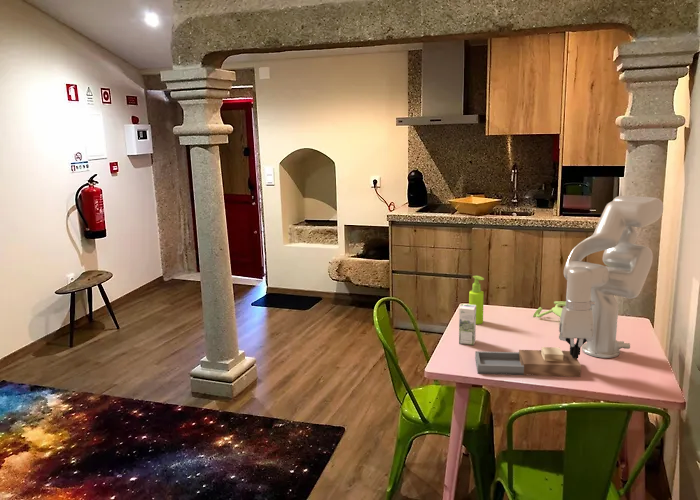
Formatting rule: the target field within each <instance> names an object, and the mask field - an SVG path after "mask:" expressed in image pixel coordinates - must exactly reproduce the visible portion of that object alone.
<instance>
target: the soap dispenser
mask: <svg viewBox="0 0 700 500" xmlns="http://www.w3.org/2000/svg"><path fill="white" fill-rule="evenodd" d="M472 278H473V279H474V282H473V283H472V285H471V286H472V288H471V290H469V292H468V304H469V305H476V326H477V325H482V324H484V296H485V295H484V291H482V290H481V289H482V288H481V287H482V286H481V285H482V284H481V283H480V281H484V280H485V278H484V277H483V276H480V275H473V276H472Z"/></svg>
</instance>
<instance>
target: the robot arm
mask: <svg viewBox="0 0 700 500" xmlns="http://www.w3.org/2000/svg"><path fill="white" fill-rule="evenodd" d="M663 212H664V203H663V201H662V200H661V199H660V198H658V197H652V196H640V195H618V196H615V198H613V200H612V201H610V202H608V203H606V205H605V207H604V209H603V211H602V213H601V215H600V218H599V220H598V222H597V225H596V227H595V229H594V232H593V234H592V235H591V236H589V237H587V238H585V239H583V240H582V241H580V242H579V243H577V245H576V246H574V247H573V248H572V250H571V251H570V253H569V255H568V257H567V260H566V261H565V265H564V268H563V276H564V278H565V280H566V294H565V302H566V306H562V308H563V309H562V313H561V318H560V317H559V327H558V328H559V329H558V331H559V335H558V339H559V340H560V341H563V342H566V343H568V345H569V351H570V355H572V357H573V358H575V357H576V358H577V359H579V356H580V355H581V350H582V352H583V353H585V354H586V355H588V356H591V357H595V358H600V359H601V358H603V359H611V358H616V357H618V356H620V353H621V349H624V350H625V349H627V350H629V349H630V348H631V344H630V343H627V342H626V343H625V341H623V340H622V341H621V340H620V341H618V340H617V331H618V330H617V329H618V318H619V303H618V301H617V299H616V297H621V298H626V299H636V298H637V297H638V296H639V295H640V293H641V291H642V289H643V287H644V285H645V282H646V280H647V277H648V274H649V273H650V270H651V267H652V264H653V259H654V255H653V251H652V249H651V248H650V247H649V246H648V245H643V244H637V243H636V242H637V240H638V238H639V233H638V231H637V229H636V228H645V227H647V226H650V225H652V224H654V223H656V222H657V221H659V219H660V218H661V217H662V216H663V215H662V214H663ZM601 251H603V253H602V262H603V265H602V264H599V263H593V262H588V261H583V259H584V258H586V257H587V256H589V255H592V254H594V253H599V252H601ZM575 339H576V342H575Z"/></svg>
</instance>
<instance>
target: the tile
mask: <svg viewBox="0 0 700 500" xmlns="http://www.w3.org/2000/svg"><path fill="white" fill-rule="evenodd" d="M540 350H541V354H542V356H543V359H544V361H563V353H562V351H563V350H562V349H561V348H560V347H552V346H551V347H549V346H547V347H546V346H543V347H542V346H541V349H540Z"/></svg>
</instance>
